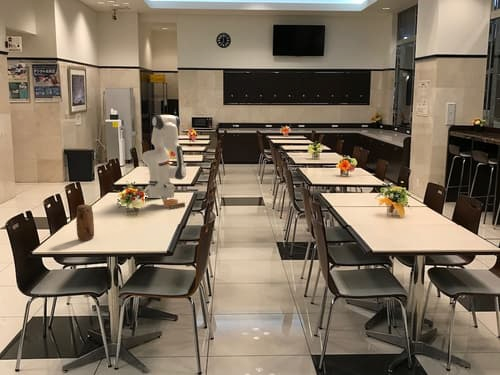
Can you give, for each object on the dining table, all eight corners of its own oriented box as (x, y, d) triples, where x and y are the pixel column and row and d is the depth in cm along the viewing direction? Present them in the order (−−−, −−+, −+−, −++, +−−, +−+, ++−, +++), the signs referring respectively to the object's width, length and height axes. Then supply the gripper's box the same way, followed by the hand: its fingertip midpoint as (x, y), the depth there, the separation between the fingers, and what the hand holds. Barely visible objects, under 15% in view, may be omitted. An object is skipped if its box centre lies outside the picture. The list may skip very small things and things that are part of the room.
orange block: (163, 207, 390) (163, 200, 389) (172, 205, 397) (172, 198, 396) (169, 208, 386) (168, 201, 385) (177, 206, 393) (177, 199, 392)
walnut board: (169, 209, 382) (169, 205, 381) (183, 206, 391) (183, 202, 390) (171, 209, 380) (170, 205, 380) (185, 206, 389) (184, 202, 389)
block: (83, 236, 308) (81, 203, 304) (95, 236, 307) (93, 203, 304) (75, 241, 297) (73, 207, 294) (88, 242, 297) (86, 207, 293)
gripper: (152, 183, 399) (153, 200, 401) (168, 186, 385) (169, 204, 387) (159, 182, 403) (160, 199, 406) (175, 185, 389) (176, 203, 391)
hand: (164, 202), depth 396 cm, fingers closed
